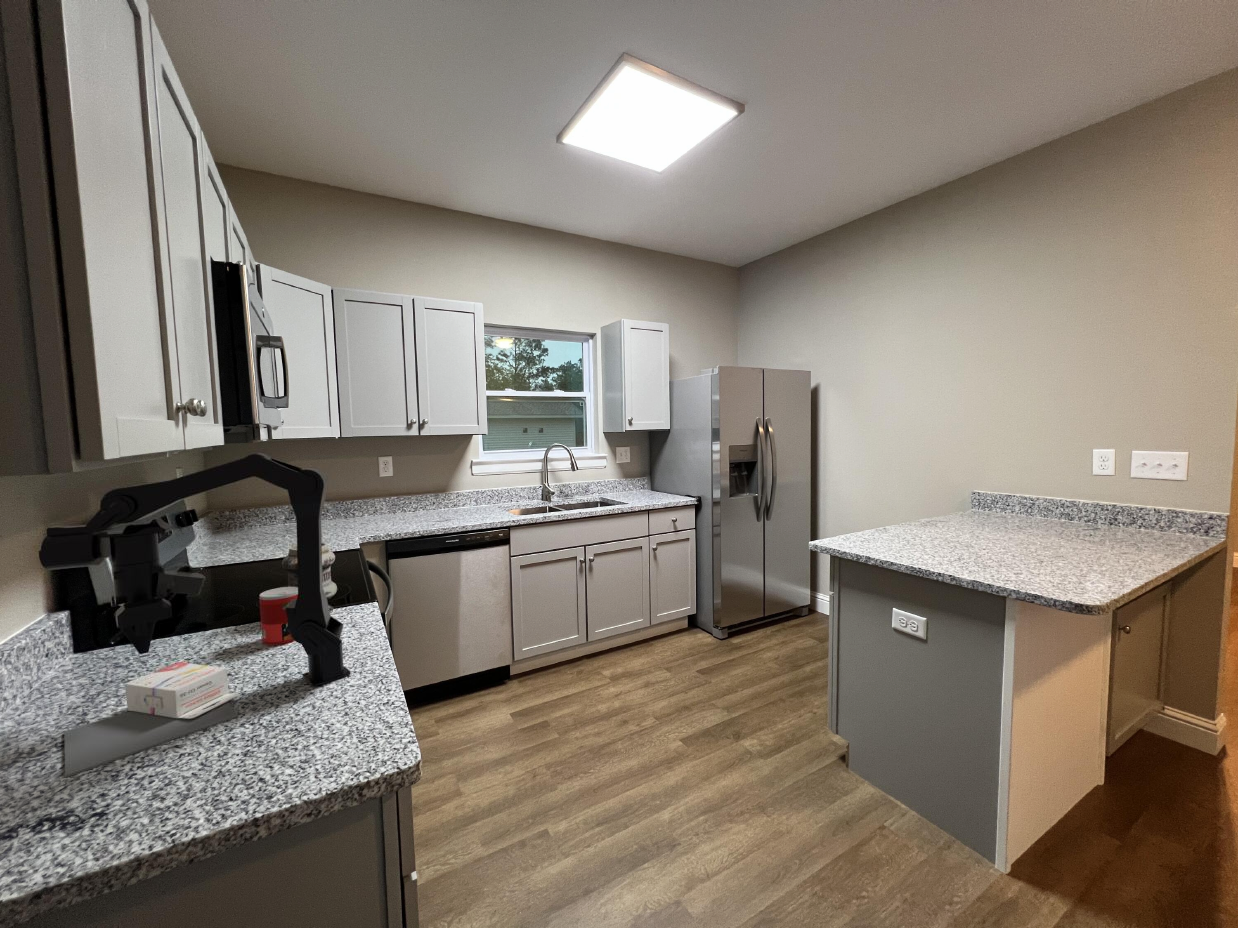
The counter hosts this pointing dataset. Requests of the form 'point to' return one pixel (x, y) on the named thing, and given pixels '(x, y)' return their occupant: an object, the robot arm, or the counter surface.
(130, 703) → the ink cartridge box
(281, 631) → the canned food
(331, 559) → the apothecary jar
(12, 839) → the counter surface
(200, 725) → the mat
